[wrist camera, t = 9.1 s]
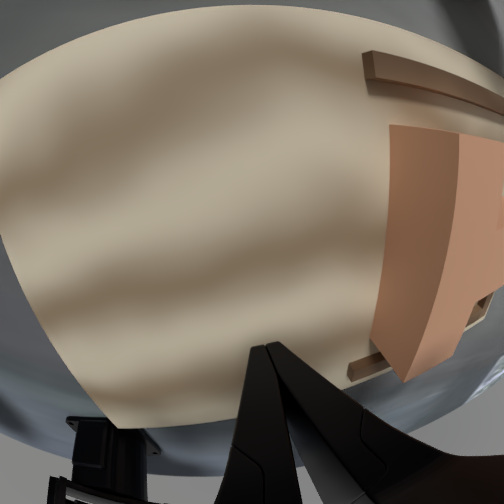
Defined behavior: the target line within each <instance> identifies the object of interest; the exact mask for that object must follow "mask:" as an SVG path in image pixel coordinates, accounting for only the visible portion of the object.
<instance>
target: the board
mask: <svg viewBox="0 0 504 504" xmlns="http://www.w3.org/2000/svg"><path fill="white" fill-rule="evenodd" d="M389 124H392V125H405V126H415V127H424V128H432V129H440V130H446V131H452V132H458V133H463V134H468V135H473V136H478V137H482V138H487V139H491V140H495V141H499V142H503V143H504V78H503V77H501V76H500V75H498V74H496V73H495V72H493V71H492V70H490V69H488V68H487V67H485V66H483V65H482V64H480V63H478V62H476V61H474V60H473V59H471V58H469V57H467V56H465V55H463V54H461V53H459V52H457V51H455V50H453V49H451V48H449V47H446V46H444V45H442V44H440V43H437V42H435V41H433V40H430V39H428V38H425V37H423V36H420V35H418V34H415V33H412V32H409V31H406V30H403V29H400V28H397V27H394V26H391V25H388V24H384V23H381V22H377V21H373V20H370V19H366V18H361V17H357V16H352V15H348V14H342V13H337V12H331V11H325V10H318V9H310V8H301V7H290V6H274V5H232V6H216V7H204V8H195V9H188V10H181V11H174V12H169V13H163V14H158V15H153V16H149V17H144V18H140V19H136V20H132V21H129V22H125V23H121V24H118V25H115V26H111V27H108V28H105V29H102V30H99V31H96V32H94V33H91V34H88V35H85V36H83V37H80V38H78V39H75V40H73V41H71V42H68V43H66V44H64V45H61V46H59V47H57V48H55V49H53V50H51V51H49V52H47V53H45V54H43V55H41V56H39V57H37V58H35V59H33V60H31V61H29V62H28V63H26V64H24V65H22V66H21V67H19V68H17V69H16V70H14V71H12V72H11V73H9V74H7V75H6V76H4V77H3V78H1V79H0V234H1V237H2V240H3V243H4V246H5V249H6V251H7V254H8V257H9V259H10V262H11V264H12V267H13V269H14V271H15V274H16V276H17V278H18V281H19V283H20V285H21V287H22V289H23V292H24V294H25V296H26V298H27V300H28V302H29V304H30V306H31V308H32V310H33V311H34V313H35V315H36V317H37V319H38V321H39V322H40V324H41V326H42V328H43V329H44V331H45V333H46V335H47V336H48V338H49V340H50V341H51V343H52V344H53V346H54V348H55V349H56V351H57V352H58V354H59V355H60V357H61V358H62V360H63V361H64V363H65V364H66V366H67V367H68V368H69V370H70V371H71V373H72V374H73V375H74V377H75V378H76V379H77V381H78V382H79V383H80V385H81V386H82V387H83V389H84V390H85V391H86V392H87V394H88V395H89V396H90V397H91V399H92V400H93V401H94V402H95V404H96V405H97V406H98V407H99V408H100V409H101V411H102V412H103V413H104V414H105V415H106V416H107V417H108V418H109V420H110V421H111V422H112V423H113V424H114V425H115V426H116V427H117V428H156V427H171V426H182V425H192V424H200V423H208V422H215V421H221V420H227V419H233V418H237V414H238V409H239V404H240V399H241V394H242V389H243V383H244V378H245V373H246V368H247V362H248V357H249V352H250V348H251V347H252V346H256V345H261V344H264V345H265V344H266V343H270V342H275V341H279V342H281V343H282V344H283V345H285V346H286V347H287V348H288V349H289V350H291V351H292V352H293V353H294V354H296V355H297V356H298V357H299V358H301V359H302V360H303V361H304V362H306V363H307V364H308V365H309V366H311V367H312V368H313V369H314V370H316V371H317V372H318V373H319V374H321V375H322V376H323V377H325V378H326V379H327V380H328V381H330V382H331V383H332V384H334V385H335V386H336V387H338V388H339V389H340V390H343V389H346V388H348V387H351V386H354V385H356V384H359V383H362V382H364V381H367V380H369V379H372V378H374V377H377V376H379V375H381V374H384V373H386V372H388V371H390V370H393V368H392V367H391V366H390V364H389V363H388V362H387V360H386V359H385V358H384V356H383V355H382V354H381V352H380V351H379V349H378V348H377V347H376V346H375V344H374V343H373V342H372V340H371V339H370V338H369V337H370V333H371V328H372V324H373V319H374V314H375V309H376V303H377V298H378V292H379V286H380V280H381V273H382V266H383V258H384V250H385V241H386V231H387V219H388V204H389V181H390V137H389ZM502 196H503V197H504V180H503V190H502ZM494 292H495V291H494ZM494 292H492V293H490V294H489V295H487V296H486V297H484V298H482V299H481V300H479V301H477V302H475V304H474V307H473V310H472V312H471V315H470V317H469V320H468V322H467V324H466V327H465V329H464V331H466V330H468V329H469V328H471V327H472V326H474V325H475V324H477V323H479V322H480V321H482V320H483V319H484V318H485V315H486V313H487V310H488V308H489V306H490V303H491V300H492V298H493V295H494ZM464 331H463V332H464Z"/></svg>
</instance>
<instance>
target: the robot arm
mask: <svg viewBox="0 0 504 504" xmlns="http://www.w3.org/2000/svg"><path fill="white" fill-rule="evenodd" d="M66 423H67V424H68V425H69V426H70V427H71V428H72V429H73V430H74V431H75V432H76V437H75V443H74V449H73V456H72V464H73V470H72V481H70V480H67V478H64V477H62V476H60V477H59V478H56V477H52V476H50V479H49V487H48V496H47V504H88V503H84V502H81V501H78V500H75V501H71V500H68V499H66V495H68V496H71V497H74V498H77V499H80V500H83V501H86V502H90V503H93V504H159V503H153V502H148V497H147V462H146V455H160V454H161V451H160V449H159V448H158V447H157V446H156V445H155V444H154V443H153V441H152V440H151V439H150V438H149V437H148V436H147V435H146V434H145V433H144V432H143V430H142V429H141V428H117V427H116V426H115V425H114V424H113V423H112V422H111V421H110V420H109V418H82V417H67V418H66ZM289 433H290V435H291V437H292V440H293V442H294V444H295V446H296V448H297V450H298V452H299V455H300V457H301V459H302V461H303V463H304V465H305V467H306V469H307V471H308V473H309V475H310V477H311V479H312V482H313V484H314V486H315V488H316V490H317V492H318V494H319V496H320V498H321V500H322V502H323V504H504V455H493V456H457V455H452V454H449V453H445V452H443V451H440V450H438V449H436V448H434V447H431V446H429V445H427V444H425V443H423V442H421V441H419V440H417V439H415V438H413V437H410V436H409V435H407V434H405V433H403V432H401V431H399V430H398V429H396V428H394V427H392V426H390V425H389V424H387V423H386V422H384V421H383V420H381V419H380V418H378V417H377V416H375V415H374V414H373V413H371V412H370V411H369V410H367V409H364V407H363V406H362V405H360V404H359V403H357V402H356V401H355V400H353V399H352V398H351V397H349V396H348V395H347V394H345V393H344V392H343V391H341V390H340V389H339V388H338V387H336V386H335V385H334V384H332V383H331V382H330V381H328V380H327V379H326V378H325V377H323V376H322V375H321V374H319V373H318V372H317V371H316V370H314V369H313V368H312V367H311V366H309V365H308V364H307V363H306V362H304V361H303V360H302V359H301V358H299V357H298V356H297V355H296V354H294V353H293V352H292V351H291V350H289V349H288V348H287V347H286V346H285V345H283V344H282V343H281V342H279V341H275V342H270V343H266V344H265V345H264V344H261V345H256V346H252V347H251V348H250V352H249V357H248V362H247V368H246V373H245V378H244V383H243V389H242V394H241V399H240V404H239V409H238V414H237V419H236V424H235V429H234V434H233V439H232V444H231V445H232V447H231V448H230V453H229V458H228V462H227V466H226V470H225V474H224V477H223V480H222V483H221V486H220V490H219V492H218V495H217V497H216V500H215V502H214V504H302V498H301V493H300V488H299V483H298V477H297V472H296V467H295V462H294V457H293V451H292V446H291V441H290V436H289Z"/></svg>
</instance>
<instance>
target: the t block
mask: <svg viewBox="0 0 504 504" xmlns="http://www.w3.org/2000/svg"><path fill="white" fill-rule="evenodd" d="M389 137H390V181H389V204H388V219H387V231H386V241H385V250H384V258H383V266H382V273H381V280H380V286H379V292H378V298H377V303H376V309H375V314H374V319H373V324H372V328H371V333H370V337H369V338H370V339H371V340H372V342H373V343H374V344H375V346H376V347H377V348H378V349H379V351H380V352H381V354H382V355H383V356H384V358H385V359H386V360H387V362H388V363H389V364H390V366H391V367H392V368H393V370H394V371H395V373H396V374H397V375H398V377H399V378H400V379H401V381H402V382H403V383H405V382H407V381H409V380H410V379H412V378H414V377H416V376H418V375H420V374H422V373H424V372H425V371H427V370H429V369H431V368H433V367H434V366H436V365H438V364H439V363H441V362H443V361H445V360H446V359H448V358H449V357H451V356H452V355H453V353H454V351H455V349H456V346H457V344H458V342H459V340H460V338H461V336H462V334H463V331H464V329H465V327H466V324H467V322H468V320H469V317H470V315H471V312H472V310H473V307H474V304H475V302H477V301H479V300H481V299H482V298H484V297H486V296H487V295H489V294H490V293H492V292H494V291H495V290H497V289H498V288H500V287H501V286H503V285H504V197H503V196H502V190H503V180H504V143H503V142H499V141H495V140H491V139H487V138H482V137H478V136H473V135H468V134H463V133H458V132H452V131H446V130H440V129H432V128H424V127H415V126H405V125H392V124H389Z"/></svg>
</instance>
